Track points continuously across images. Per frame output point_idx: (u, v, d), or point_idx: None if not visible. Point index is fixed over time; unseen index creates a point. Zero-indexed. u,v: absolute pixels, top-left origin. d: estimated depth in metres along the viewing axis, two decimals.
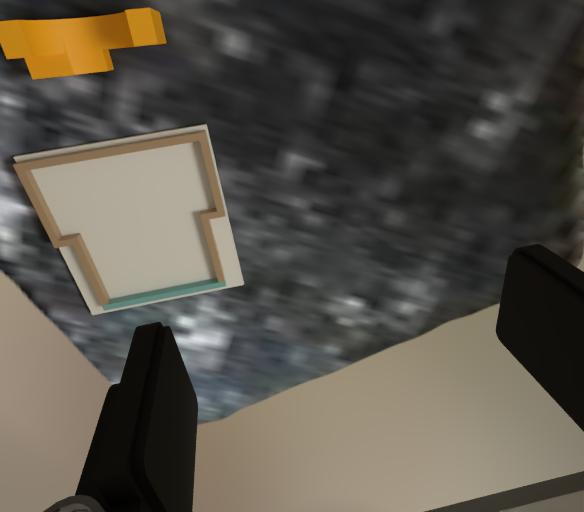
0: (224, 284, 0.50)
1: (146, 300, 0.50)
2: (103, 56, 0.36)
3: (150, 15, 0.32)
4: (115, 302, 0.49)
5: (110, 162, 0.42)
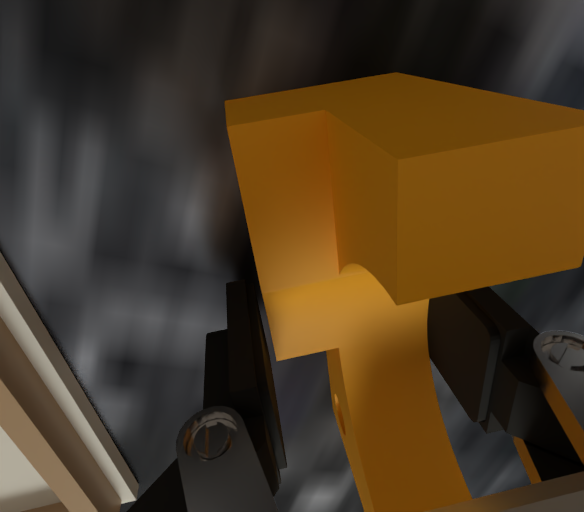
0: None
1: None
2: (319, 348, 0.11)
3: None
4: None
5: None
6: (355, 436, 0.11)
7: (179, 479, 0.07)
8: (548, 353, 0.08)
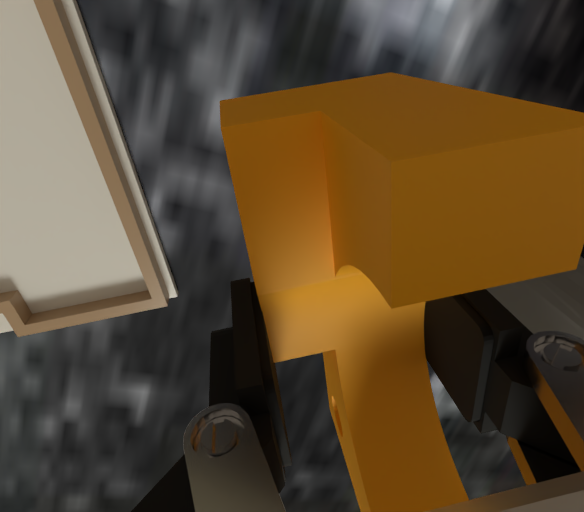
0: None
1: None
2: (315, 350, 0.11)
3: None
4: None
5: (82, 148, 0.22)
6: (352, 438, 0.11)
7: (186, 476, 0.07)
8: (541, 354, 0.08)
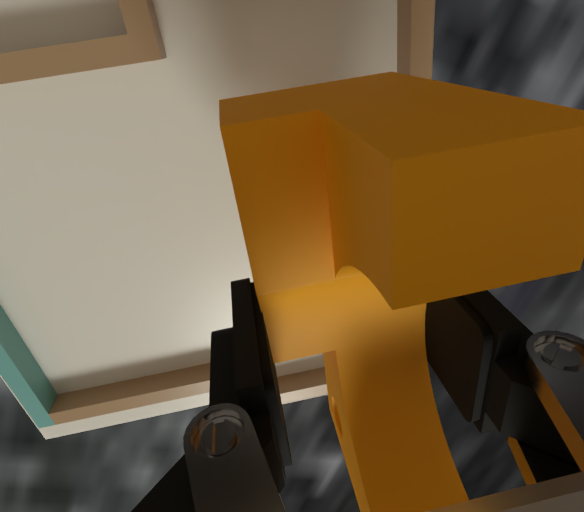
0: (44, 425, 0.19)
1: None
2: (315, 351, 0.11)
3: None
4: None
5: None
6: (352, 440, 0.11)
7: (186, 475, 0.07)
8: (541, 354, 0.08)
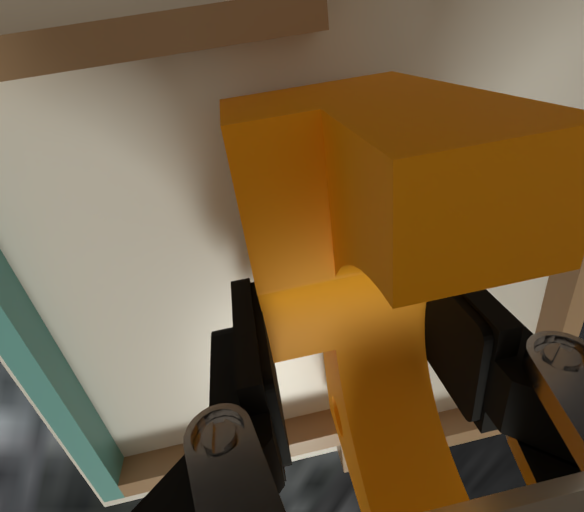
0: (111, 498, 0.15)
1: None
2: (315, 350, 0.11)
3: None
4: None
5: None
6: (352, 439, 0.11)
7: (186, 476, 0.07)
8: (541, 353, 0.08)
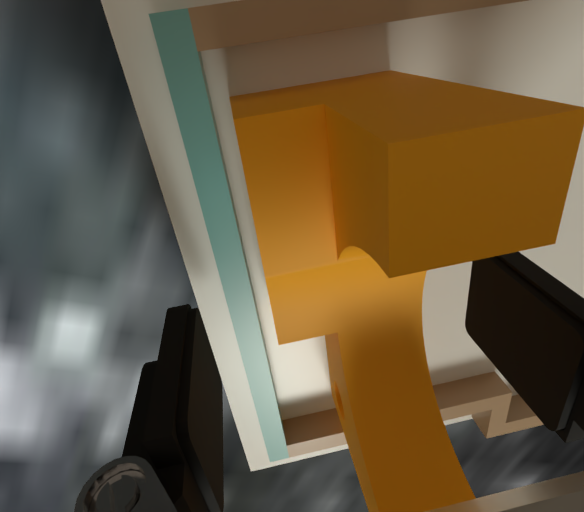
0: (277, 458, 0.16)
1: (220, 242, 0.11)
2: (318, 333, 0.11)
3: None
4: (207, 94, 0.09)
5: None
6: (353, 417, 0.12)
7: None
8: None
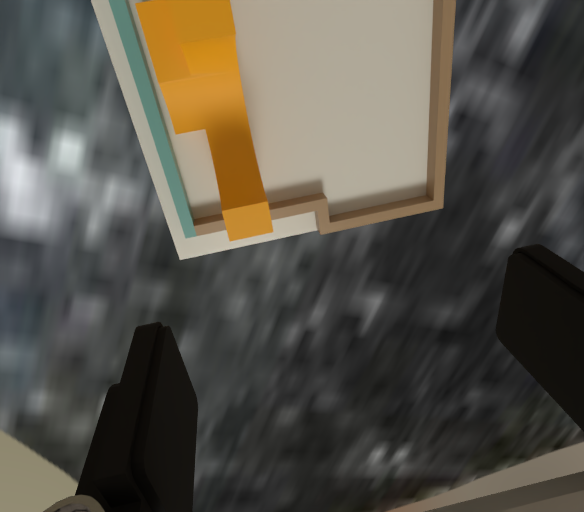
0: (189, 235, 0.27)
1: (139, 82, 0.22)
2: (195, 129, 0.23)
3: (264, 232, 0.22)
4: (126, 3, 0.20)
5: (418, 57, 0.25)
6: (215, 173, 0.23)
7: None
8: None
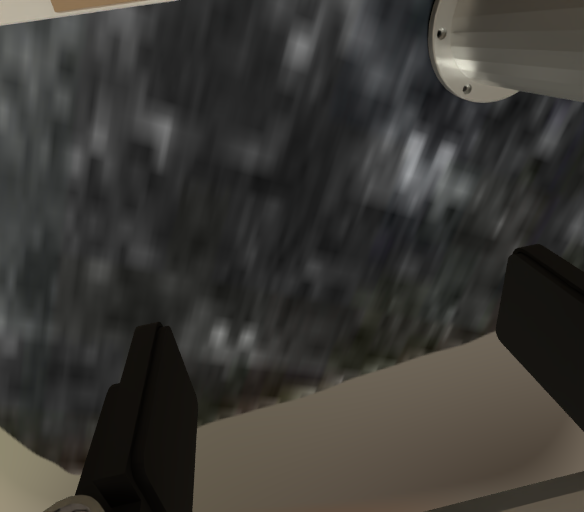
0: None
1: None
2: None
3: None
4: None
5: None
6: None
7: None
8: None
